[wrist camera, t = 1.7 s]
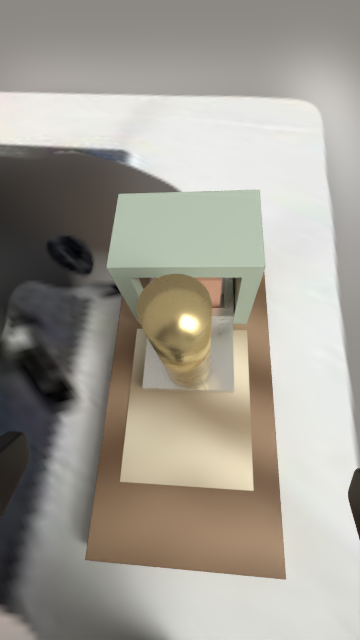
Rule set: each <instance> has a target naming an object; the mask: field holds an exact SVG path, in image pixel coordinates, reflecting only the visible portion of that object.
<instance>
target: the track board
mask: <svg viewBox="0 0 360 640" xmlns="http://www.w3.org/2000/svg"><path fill="white" fill-rule="evenodd" d="M139 280H140V282H141V285H142V287H143V289H144V288H145V287H146V286H147V285H148V284H149V282H150V278H139ZM146 345H147V336H146V334H145V332H144V331H143V329H142V327H141V325H140V324H139V323H138V322H137V320H136V318H135V317H134V315H133V313H132V311H131V310H130V308H129V306H128V305H127V303H126V301H125V299H124V298H123V296H122V301H121V308H120V315H119V323H118V330H117V337H116V344H115V351H114V358H113V365H112V373H111V380H110V387H109V394H108V401H107V408H106V415H105V423H104V430H103V437H102V444H101V451H100V458H99V465H98V473H97V480H96V487H95V494H94V501H93V508H92V515H91V523H90V530H89V537H88V544H87V551H86V558H85V560H89V561H100V562H110V563H120V564H131V565H141V566H151V567H162V568H172V569H183V570H193V571H203V572H214V573H224V574H235V575H245V576H255V577H266V578H276V579H286V573H285V558H284V544H283V530H282V516H281V502H280V488H279V474H278V460H277V445H276V431H275V417H274V403H273V389H272V375H271V361H270V346H269V332H268V318H267V304H266V290H265V276H264V273H263V276H262V279H261V282H260V285H259V288H258V291H257V294H256V297H255V300H254V303H253V306H252V309H251V312H250V316H249V319H248V322H247V324H233V357H234V392H233V393H219V392H192V391H164V390H144V389H143V388H142V386H143V376H144V365H145V355H146Z"/></svg>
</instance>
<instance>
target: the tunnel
mask: <svg viewBox="0 0 360 640" xmlns="http://www.w3.org/2000/svg"><path fill="white" fill-rule="evenodd" d="M106 268H107V270H108V271H109V273H110V275H111V276H112V278H113V280H114V282H115V284H116V285H117V287H118V289H119V291H120V292H121V294H122V296H123V298H124V299H125V301H126V303H127V305H128V306H129V308H130V310H131V311H132V313H133V315H134V317H135V318H136V320H137V322H138V323H139V321H138V318H137V313H136V306H137V301H138V298H139V296H140V294H141V292H142V291H143V287H142V285H141V282H140V280H139V278H159V277H161V276H164V275H168V274H184V275H188V276H191V277H193V278H233V296H234V319H233V324H247V322H248V319H249V316H250V312H251V309H252V306H253V303H254V300H255V297H256V294H257V291H258V288H259V285H260V282H261V279H262V276H263V273H264V269H265V255H264V241H263V227H262V214H261V200H260V190H235V191H203V192H174V193H173V192H171V193H139V194H119V196H118V202H117V208H116V214H115V220H114V225H113V232H112V237H111V243H110V249H109V255H108V261H107V266H106Z"/></svg>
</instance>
